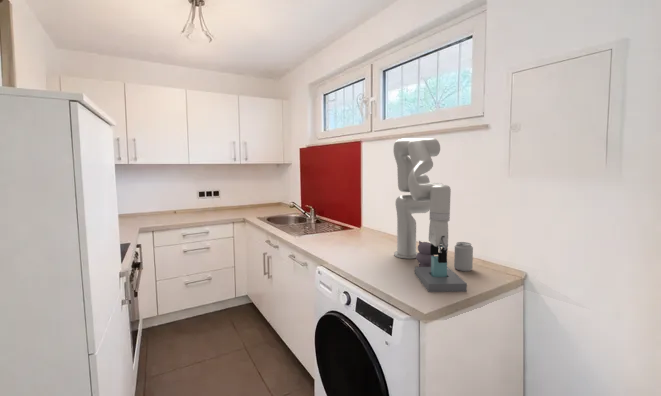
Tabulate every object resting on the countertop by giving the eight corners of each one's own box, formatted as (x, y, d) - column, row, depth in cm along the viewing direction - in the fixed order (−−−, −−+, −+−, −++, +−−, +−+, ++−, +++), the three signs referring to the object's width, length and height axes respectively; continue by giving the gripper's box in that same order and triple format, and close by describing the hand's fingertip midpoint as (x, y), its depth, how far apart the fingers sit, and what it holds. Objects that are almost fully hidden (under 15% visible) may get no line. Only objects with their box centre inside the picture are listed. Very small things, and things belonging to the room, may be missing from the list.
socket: (414, 273, 137) (414, 265, 136) (447, 273, 136) (447, 265, 136) (428, 291, 117) (428, 282, 116) (466, 291, 116) (466, 282, 116)
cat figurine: (412, 267, 144) (413, 242, 143) (420, 263, 150) (420, 239, 149) (430, 271, 139) (431, 245, 138) (438, 267, 145) (438, 241, 143)
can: (457, 265, 147) (457, 240, 145) (474, 268, 142) (475, 242, 141) (451, 269, 141) (452, 243, 140) (469, 273, 136) (470, 246, 135)
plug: (430, 280, 129) (431, 256, 128) (443, 280, 128) (443, 256, 127) (433, 283, 125) (434, 259, 124) (446, 283, 124) (447, 259, 123)
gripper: (423, 212, 133) (422, 252, 135) (437, 220, 116) (435, 266, 118) (441, 212, 133) (440, 252, 135) (457, 220, 116) (455, 265, 118)
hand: (438, 258), depth 126 cm, fingers open, 9 cm apart
